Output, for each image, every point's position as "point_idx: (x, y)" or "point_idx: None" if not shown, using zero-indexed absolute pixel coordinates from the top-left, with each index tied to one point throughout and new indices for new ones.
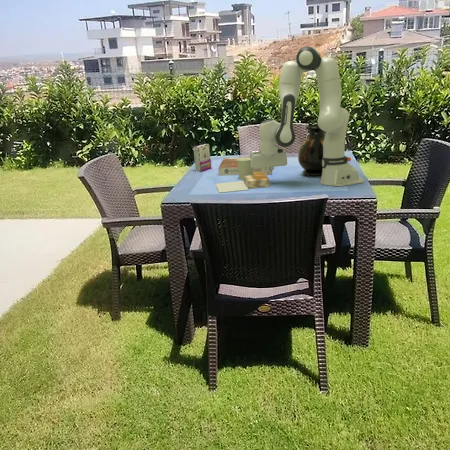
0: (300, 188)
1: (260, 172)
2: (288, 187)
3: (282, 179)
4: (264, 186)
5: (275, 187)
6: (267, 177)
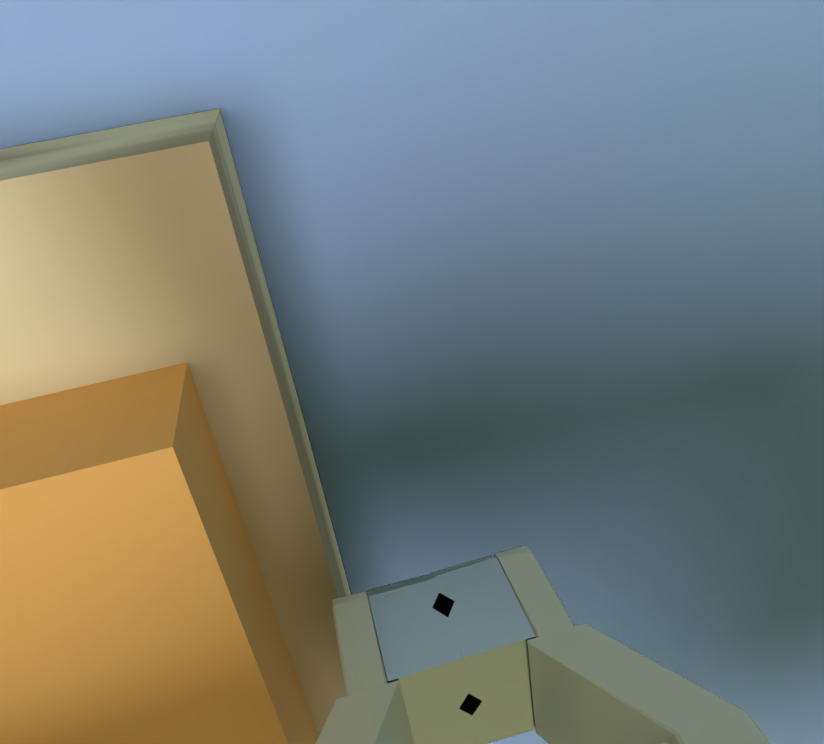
0: (810, 740)
1: (34, 611)
2: None
3: (774, 55)
4: None
5: None
6: None
